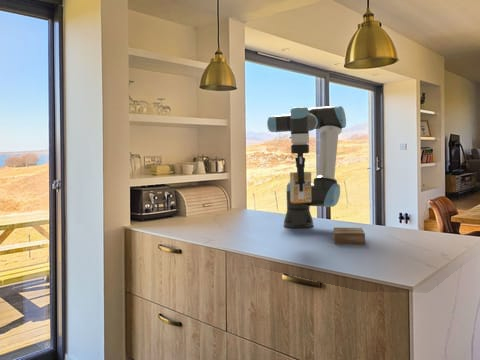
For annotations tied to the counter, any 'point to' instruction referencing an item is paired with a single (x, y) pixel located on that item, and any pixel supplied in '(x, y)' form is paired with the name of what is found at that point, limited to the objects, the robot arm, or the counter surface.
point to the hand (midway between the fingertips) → (300, 198)
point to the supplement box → (295, 188)
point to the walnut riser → (349, 236)
